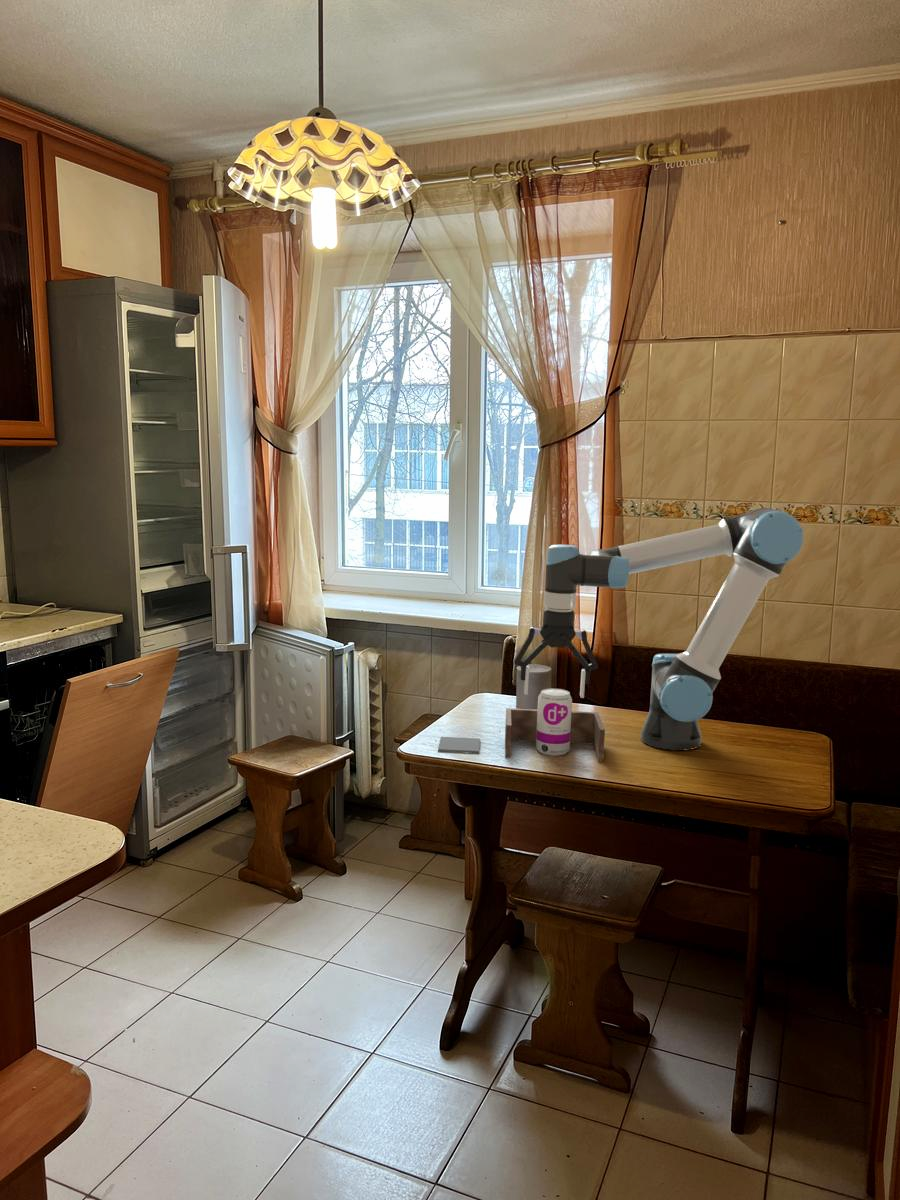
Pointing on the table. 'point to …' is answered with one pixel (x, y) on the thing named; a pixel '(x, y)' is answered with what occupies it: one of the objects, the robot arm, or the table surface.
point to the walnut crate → (582, 731)
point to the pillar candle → (532, 686)
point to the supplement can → (554, 722)
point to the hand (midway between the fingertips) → (553, 694)
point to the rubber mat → (459, 744)
